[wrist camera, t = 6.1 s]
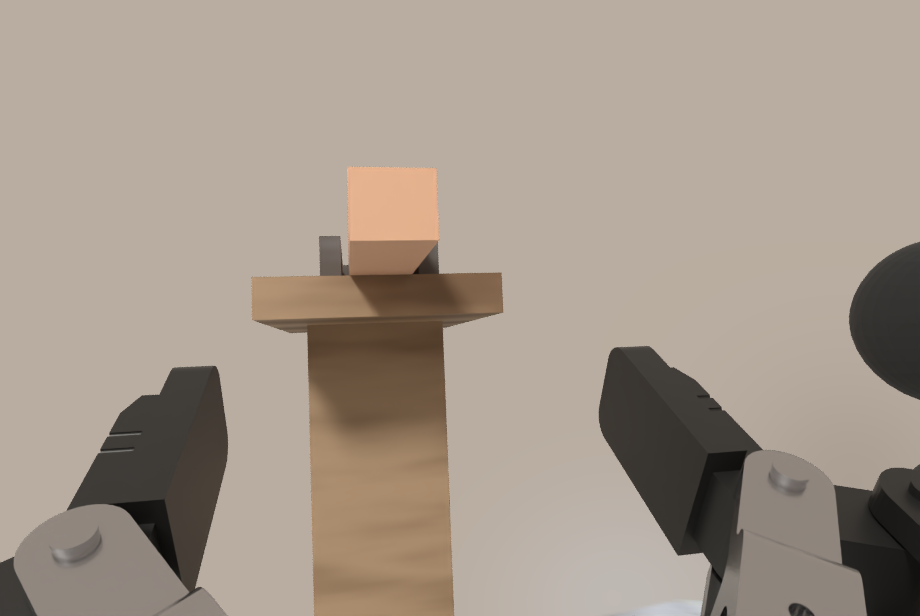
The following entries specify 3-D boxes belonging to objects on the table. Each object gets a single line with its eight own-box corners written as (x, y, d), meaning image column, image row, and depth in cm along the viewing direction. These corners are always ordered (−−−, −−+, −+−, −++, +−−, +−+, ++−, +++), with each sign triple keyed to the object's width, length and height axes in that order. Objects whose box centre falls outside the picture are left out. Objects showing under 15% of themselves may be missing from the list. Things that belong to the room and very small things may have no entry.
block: (349, 299, 41) (348, 263, 41) (393, 298, 42) (391, 262, 42) (349, 240, 20) (347, 166, 20) (439, 240, 20) (436, 168, 20)
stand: (274, 733, 45) (265, 277, 47) (481, 701, 48) (463, 274, 50) (215, 1029, 25) (205, 224, 28) (573, 943, 28) (536, 223, 30)
